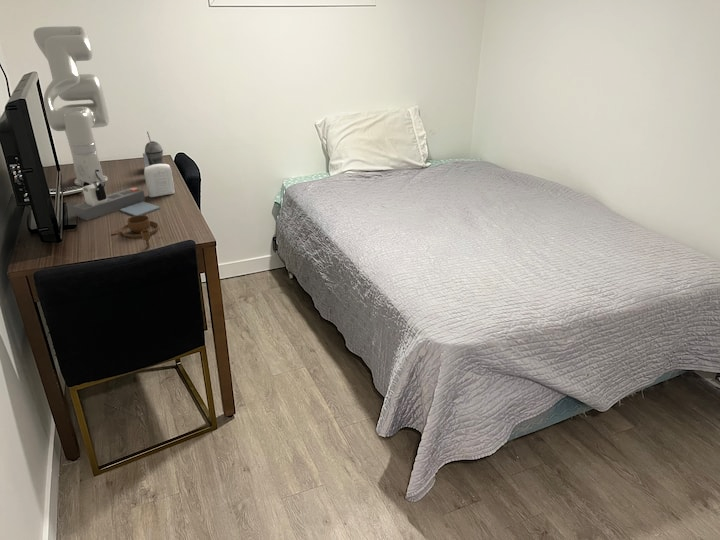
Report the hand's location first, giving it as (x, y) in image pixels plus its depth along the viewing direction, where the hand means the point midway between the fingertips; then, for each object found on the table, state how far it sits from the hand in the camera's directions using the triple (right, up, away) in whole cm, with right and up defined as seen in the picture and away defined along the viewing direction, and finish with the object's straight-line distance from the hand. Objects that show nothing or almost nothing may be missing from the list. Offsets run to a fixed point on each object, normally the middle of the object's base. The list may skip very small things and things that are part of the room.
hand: (95, 197), depth 186 cm
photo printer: (+16, +4, +20) cm, 26 cm away
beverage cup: (+8, +14, +39) cm, 42 cm away
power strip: (+3, -3, +6) cm, 8 cm away
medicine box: (+2, +19, +48) cm, 52 cm away
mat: (+14, -4, +5) cm, 15 cm away
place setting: (+21, -16, -14) cm, 30 cm away
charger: (0, -3, +2) cm, 4 cm away
